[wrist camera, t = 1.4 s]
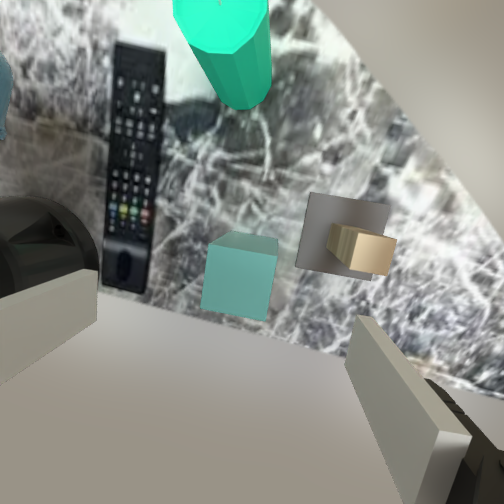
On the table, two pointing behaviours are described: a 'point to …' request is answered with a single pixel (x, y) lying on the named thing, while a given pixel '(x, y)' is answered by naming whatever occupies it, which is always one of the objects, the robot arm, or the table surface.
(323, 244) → the gray square base stand
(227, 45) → the candle
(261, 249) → the turquoise rectangular block
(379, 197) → the table surface
